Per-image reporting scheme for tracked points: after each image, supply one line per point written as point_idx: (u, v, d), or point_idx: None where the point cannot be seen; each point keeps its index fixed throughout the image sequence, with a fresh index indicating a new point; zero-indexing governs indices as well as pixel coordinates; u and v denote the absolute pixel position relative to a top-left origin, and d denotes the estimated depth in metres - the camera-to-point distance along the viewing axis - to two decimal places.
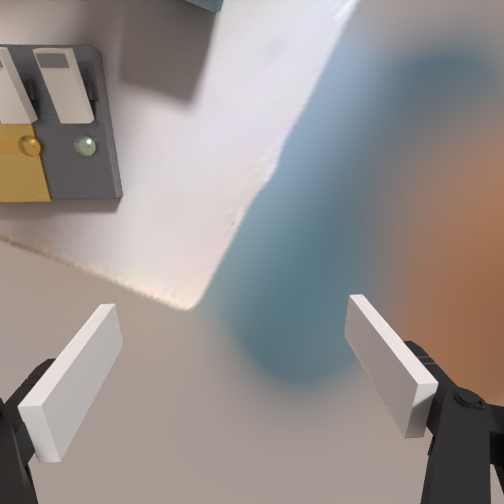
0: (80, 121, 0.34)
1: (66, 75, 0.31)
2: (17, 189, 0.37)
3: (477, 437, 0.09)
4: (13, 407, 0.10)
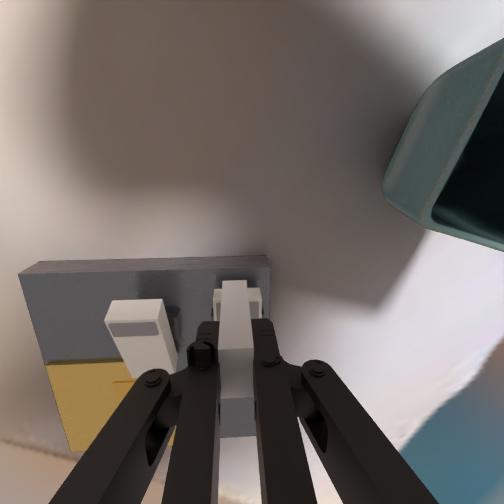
0: None
1: None
2: None
3: (282, 388, 0.10)
4: None
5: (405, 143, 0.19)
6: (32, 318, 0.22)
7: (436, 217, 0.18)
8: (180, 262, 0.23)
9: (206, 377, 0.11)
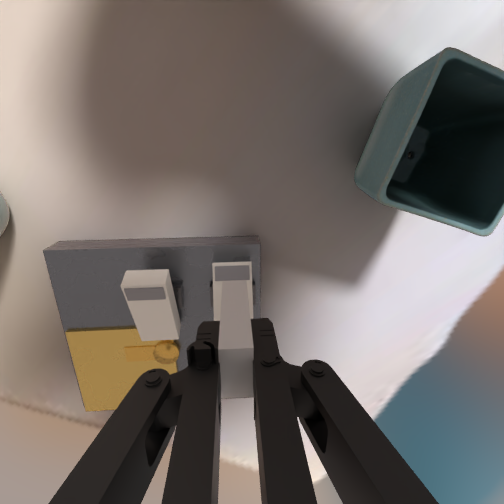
0: None
1: None
2: None
3: (282, 388, 0.10)
4: None
5: (372, 137, 0.22)
6: (54, 289, 0.25)
7: (396, 198, 0.21)
8: (182, 241, 0.26)
9: (206, 377, 0.11)
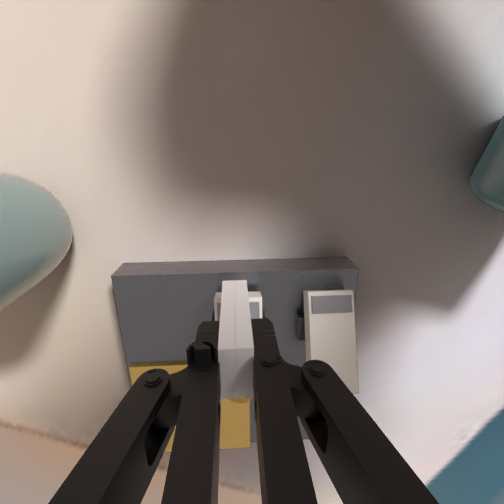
0: None
1: (344, 322, 0.20)
2: None
3: (282, 388, 0.10)
4: None
5: None
6: (119, 319, 0.22)
7: None
8: (265, 264, 0.23)
9: (206, 377, 0.11)
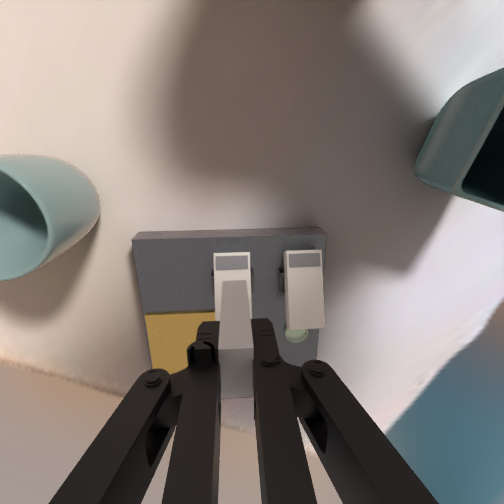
0: (314, 326, 0.26)
1: (314, 274, 0.26)
2: None
3: (282, 388, 0.10)
4: None
5: (436, 136, 0.24)
6: (137, 276, 0.28)
7: None
8: (253, 232, 0.29)
9: (206, 377, 0.11)
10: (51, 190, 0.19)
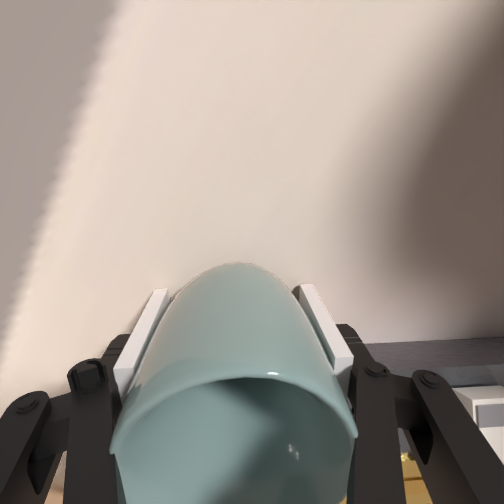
0: None
1: None
2: None
3: (385, 402, 0.10)
4: None
5: None
6: None
7: None
8: (495, 348, 0.19)
9: (96, 398, 0.10)
10: (337, 379, 0.10)
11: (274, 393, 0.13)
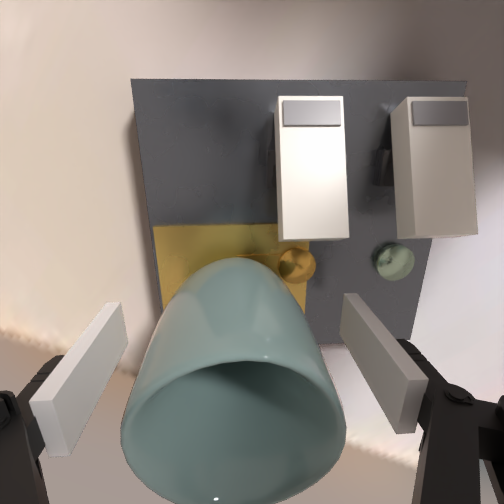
0: (459, 230, 0.14)
1: (456, 139, 0.15)
2: None
3: (466, 432, 0.09)
4: (23, 402, 0.11)
5: None
6: (141, 154, 0.16)
7: None
8: None
9: (6, 435, 0.09)
10: None
11: (269, 378, 0.14)
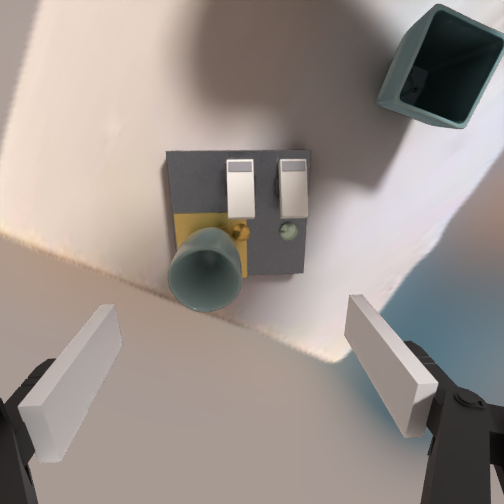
0: (300, 214, 0.35)
1: (300, 176, 0.36)
2: None
3: (477, 437, 0.09)
4: (13, 407, 0.10)
5: (389, 71, 0.34)
6: (169, 181, 0.37)
7: None
8: None
9: None
10: (237, 259, 0.32)
11: (222, 273, 0.35)
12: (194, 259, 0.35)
